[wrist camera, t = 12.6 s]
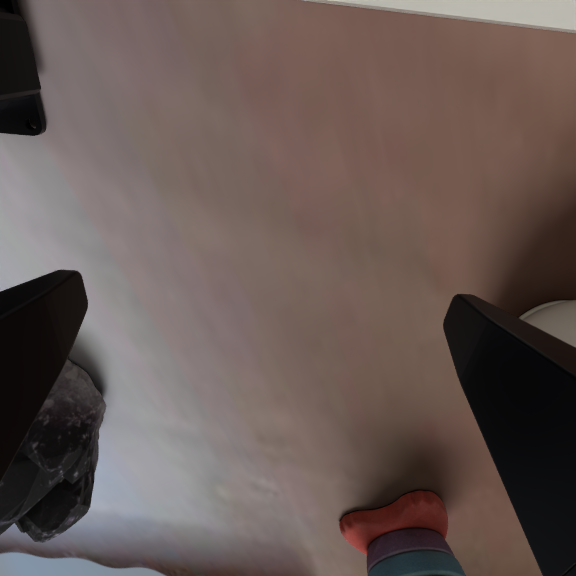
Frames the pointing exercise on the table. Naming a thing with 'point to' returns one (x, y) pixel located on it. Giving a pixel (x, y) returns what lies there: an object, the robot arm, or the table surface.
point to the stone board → (483, 11)
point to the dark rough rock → (55, 460)
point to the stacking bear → (404, 537)
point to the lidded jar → (555, 319)
